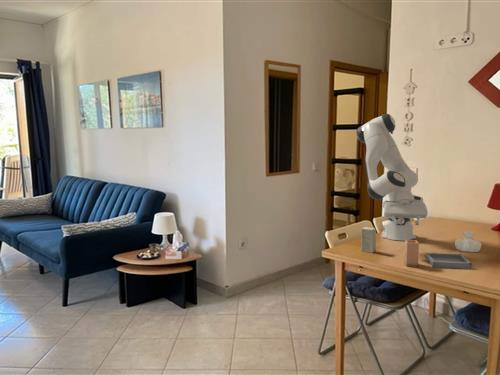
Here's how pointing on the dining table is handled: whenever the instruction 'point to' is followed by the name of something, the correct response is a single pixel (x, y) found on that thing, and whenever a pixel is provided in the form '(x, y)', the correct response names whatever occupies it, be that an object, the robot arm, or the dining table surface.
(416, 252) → the cup
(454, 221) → the dining table surface
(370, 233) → the skincare box
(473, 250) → the bust
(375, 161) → the robot arm
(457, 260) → the tray
